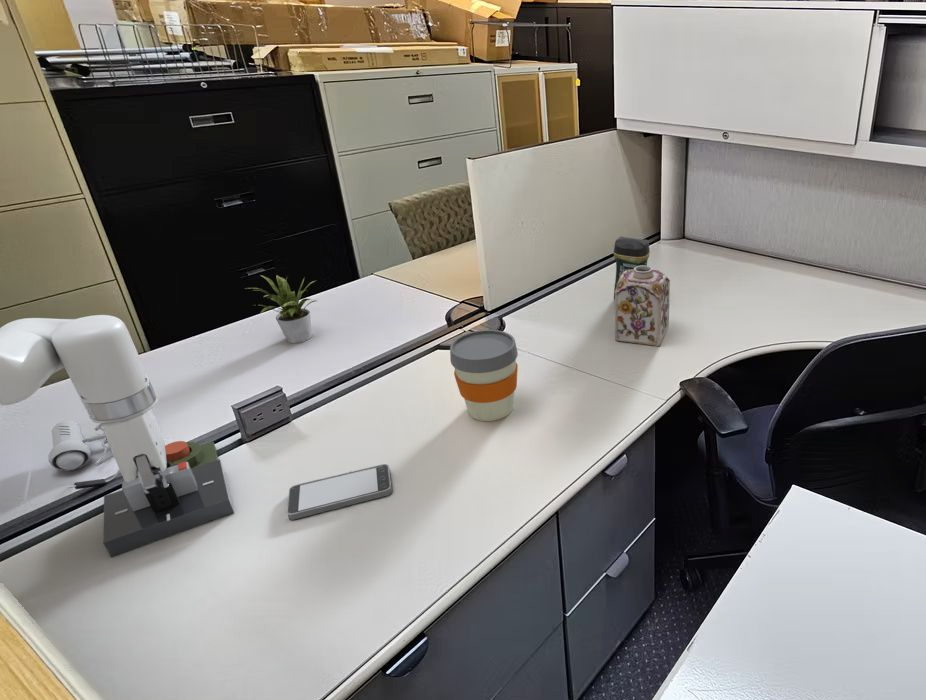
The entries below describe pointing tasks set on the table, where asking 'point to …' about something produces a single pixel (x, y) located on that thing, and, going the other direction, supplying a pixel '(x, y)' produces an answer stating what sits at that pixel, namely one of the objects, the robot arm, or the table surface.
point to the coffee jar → (629, 255)
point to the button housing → (198, 454)
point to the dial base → (166, 512)
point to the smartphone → (338, 491)
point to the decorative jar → (642, 306)
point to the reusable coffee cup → (486, 372)
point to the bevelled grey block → (175, 475)
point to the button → (176, 451)
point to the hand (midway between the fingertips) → (165, 496)
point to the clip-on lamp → (75, 451)
